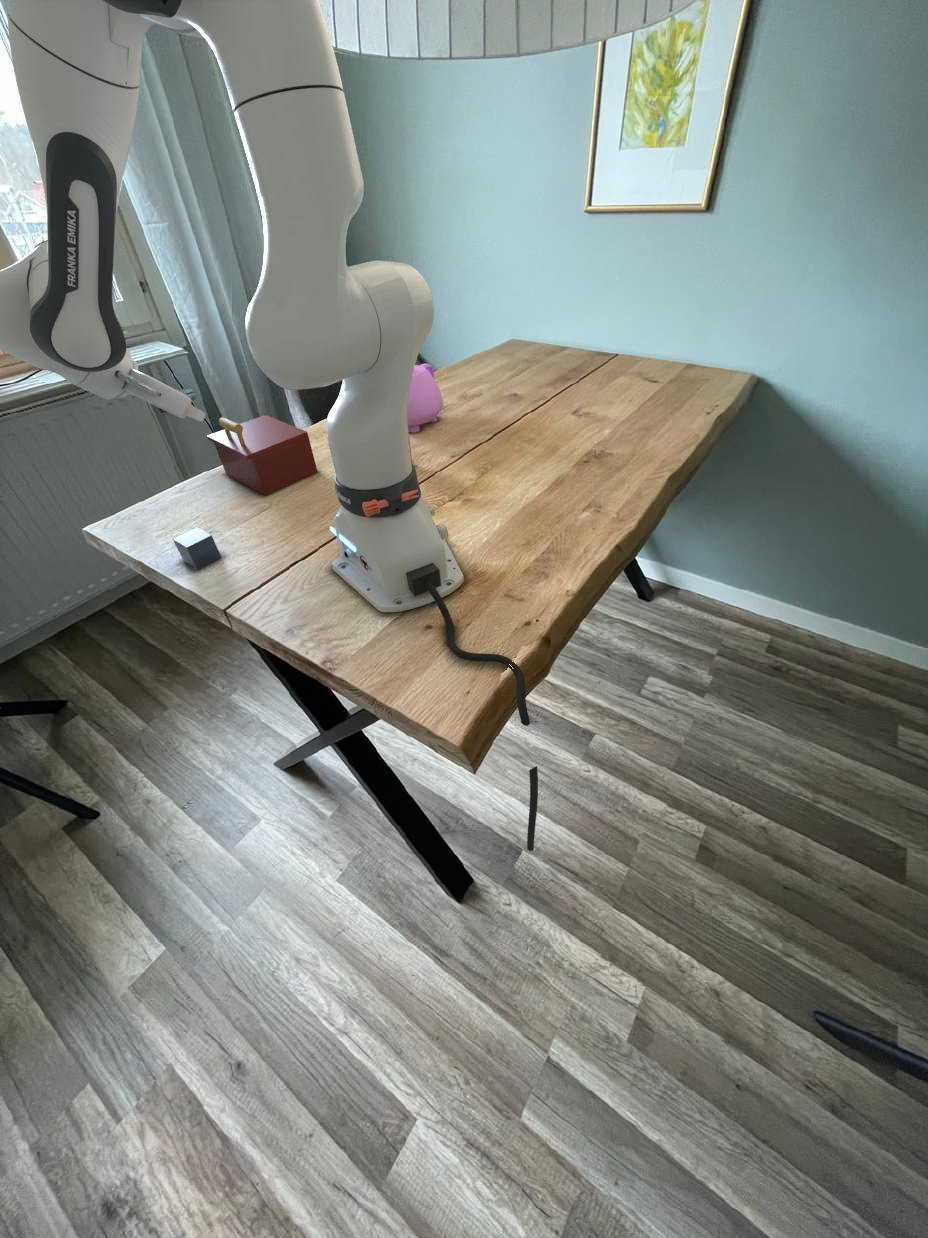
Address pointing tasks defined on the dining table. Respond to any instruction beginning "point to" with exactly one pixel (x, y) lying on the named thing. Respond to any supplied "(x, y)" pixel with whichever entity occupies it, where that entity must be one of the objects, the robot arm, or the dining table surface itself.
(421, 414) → the pink piggy bank
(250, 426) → the cover
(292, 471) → the red hinged box
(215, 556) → the block
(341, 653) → the dining table surface
